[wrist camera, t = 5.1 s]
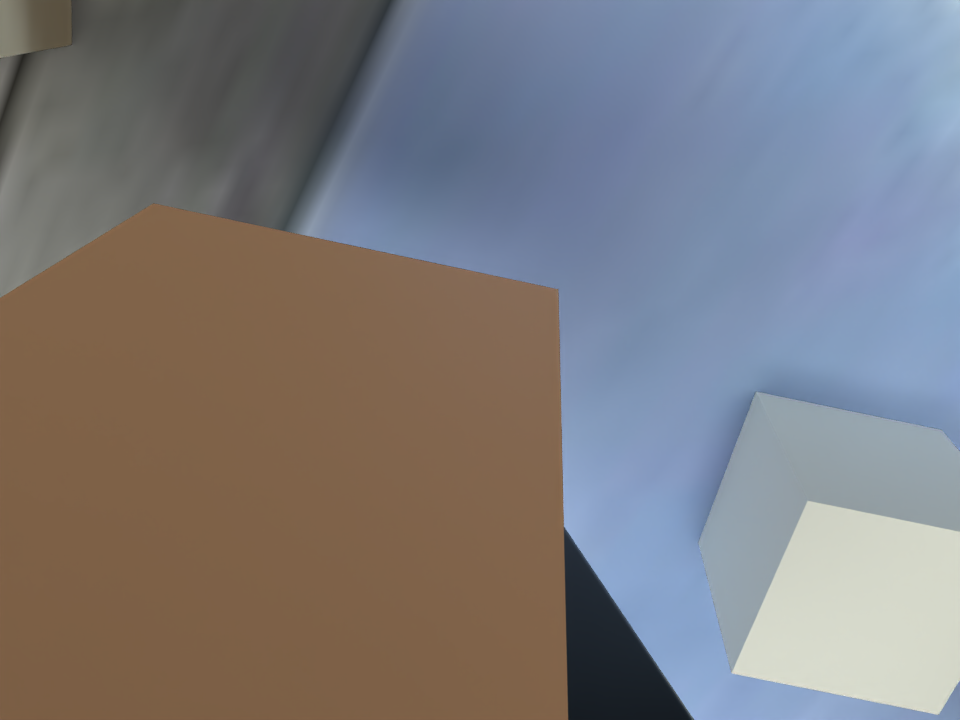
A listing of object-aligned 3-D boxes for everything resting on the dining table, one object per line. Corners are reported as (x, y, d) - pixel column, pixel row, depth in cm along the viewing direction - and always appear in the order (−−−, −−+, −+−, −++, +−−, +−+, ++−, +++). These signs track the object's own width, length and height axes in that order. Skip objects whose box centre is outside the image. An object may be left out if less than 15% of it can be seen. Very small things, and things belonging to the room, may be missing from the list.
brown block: (558, 288, 9) (573, 987, 3) (479, 601, 11) (388, 1421, 5) (153, 203, 9) (-704, 732, 3) (143, 532, 11) (-383, 1274, 5)
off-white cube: (940, 428, 22) (1039, 547, 18) (867, 575, 25) (938, 714, 20) (755, 390, 22) (807, 500, 18) (698, 540, 24) (731, 673, 20)
